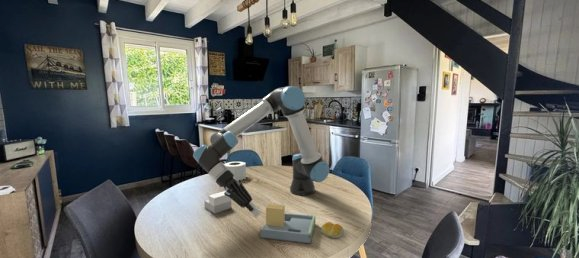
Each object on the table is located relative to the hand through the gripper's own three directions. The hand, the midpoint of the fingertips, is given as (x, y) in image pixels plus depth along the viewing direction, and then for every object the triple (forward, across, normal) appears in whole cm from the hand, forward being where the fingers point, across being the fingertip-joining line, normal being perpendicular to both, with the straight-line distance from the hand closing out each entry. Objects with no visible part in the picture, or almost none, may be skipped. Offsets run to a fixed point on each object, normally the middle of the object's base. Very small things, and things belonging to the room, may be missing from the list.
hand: (258, 215), depth 104 cm
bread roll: (+26, -2, +18) cm, 32 cm away
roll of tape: (-25, -64, -33) cm, 76 cm away
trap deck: (+13, 0, +6) cm, 15 cm away
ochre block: (+7, 0, +3) cm, 8 cm away
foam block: (-17, -13, -27) cm, 34 cm away
